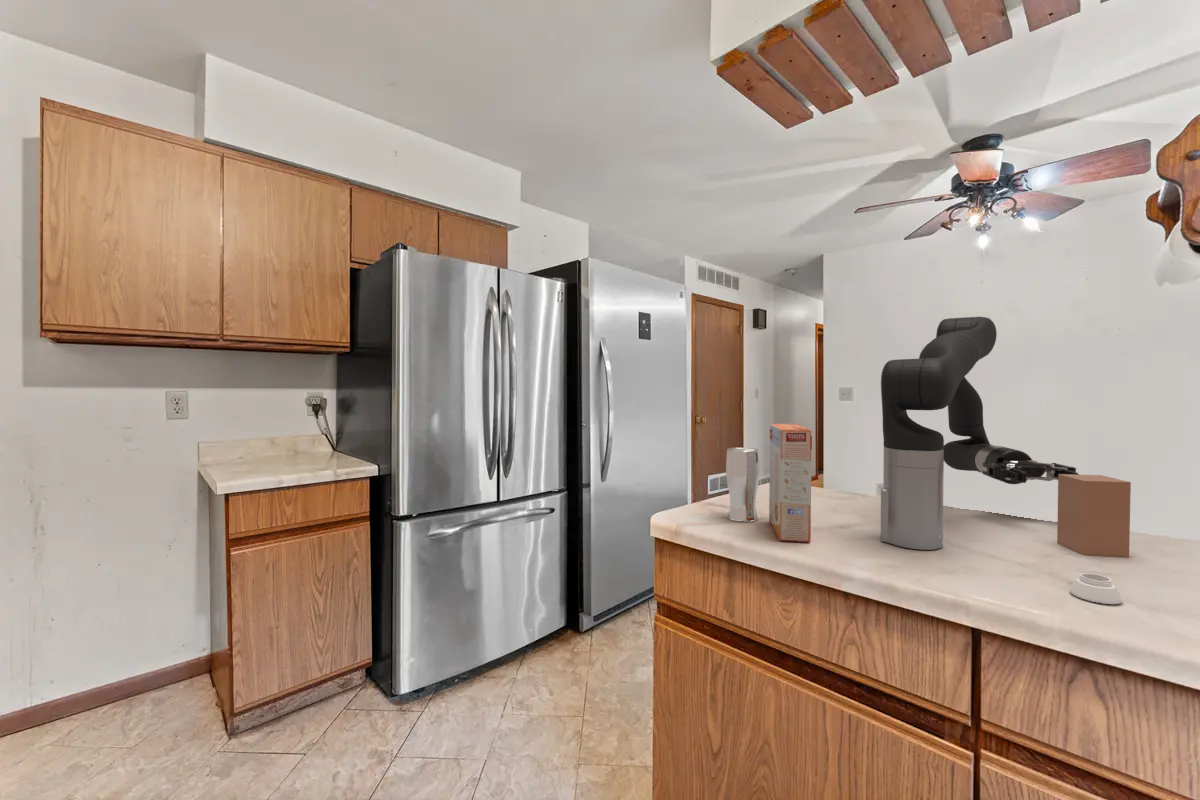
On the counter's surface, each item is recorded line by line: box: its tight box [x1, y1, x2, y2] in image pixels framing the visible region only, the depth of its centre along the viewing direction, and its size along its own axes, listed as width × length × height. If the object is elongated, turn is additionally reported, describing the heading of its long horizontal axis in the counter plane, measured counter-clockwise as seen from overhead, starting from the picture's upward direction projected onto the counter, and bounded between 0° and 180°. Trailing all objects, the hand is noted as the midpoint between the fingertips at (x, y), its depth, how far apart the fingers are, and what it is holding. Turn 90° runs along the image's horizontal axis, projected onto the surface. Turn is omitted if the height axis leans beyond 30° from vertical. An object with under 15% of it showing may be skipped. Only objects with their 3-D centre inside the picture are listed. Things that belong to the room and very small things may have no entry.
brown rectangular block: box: [1056, 474, 1132, 558], centre depth 86 cm, size 6×6×12 cm
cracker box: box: [768, 423, 813, 543], centre depth 98 cm, size 14×6×21 cm, turn 168°
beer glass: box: [725, 447, 761, 521], centre depth 108 cm, size 7×7×15 cm
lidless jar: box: [1069, 572, 1124, 605], centre depth 67 cm, size 5×3×5 cm
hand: (1050, 478), depth 97 cm, fingers open, 8 cm apart
